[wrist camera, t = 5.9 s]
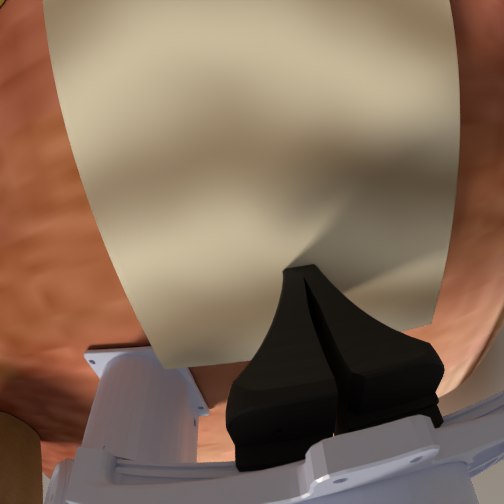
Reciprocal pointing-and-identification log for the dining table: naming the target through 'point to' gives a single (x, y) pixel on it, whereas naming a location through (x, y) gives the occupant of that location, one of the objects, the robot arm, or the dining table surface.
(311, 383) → the robot arm
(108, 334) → the dining table surface
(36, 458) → the plant pot
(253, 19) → the lid
